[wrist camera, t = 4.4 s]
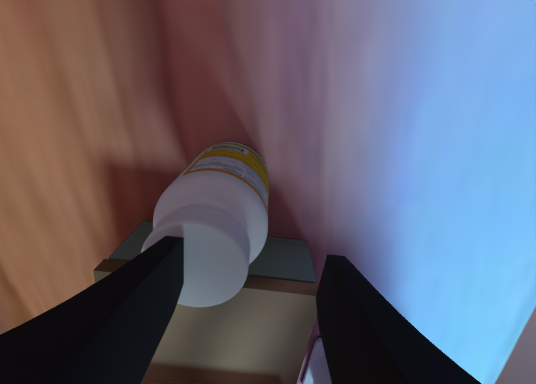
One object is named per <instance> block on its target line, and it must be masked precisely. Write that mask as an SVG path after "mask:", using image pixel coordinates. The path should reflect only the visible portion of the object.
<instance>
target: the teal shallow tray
mask: <svg viewBox="0 0 536 384" xmlns="http://www.w3.org/2000/svg"><path fill="white" fill-rule="evenodd" d="M152 231H153V222H150V221H142V222H141V223H140V224H139V225H138V226H137V227H136V229H135V230H134V231H133V232H132V233H131V234H130V235H129V236H128V237H127V238H126V239H125V240H124V242H123V243H122V244H121V245H120V246H119V247H118V248H117V249H116V250H115V251H114V252H113V254H112V255H111V256H110V257H109V260H116V261H125V262H129V261H130V260H132V259H133V258H135V257H136V256H137V255H139V254H140V253H141V250H142V247H143V244H144V242H145V241H146V239H147V238H148V236H149V235H150V233H151V232H152ZM247 276H252V277H261V278H269V279H278V280H286V281H295V282H303V283H312V284H317V280H316V276H315V271H314V267H313V263H312V258H311V254H310V250H309V245H308V241H302V240H294V239H286V238H278V237H270V236H267V238H266V241H265V244H264V246H263V249H262V250H261V252H260V253H259V255H258V256H257V257H256V258H255V260H254V261H252V262H251V263H250V264H249V268H248V274H247Z"/></svg>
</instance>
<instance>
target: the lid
mask: <svg viewBox="0 0 536 384" xmlns="http://www.w3.org/2000/svg"><path fill="white" fill-rule="evenodd" d="M126 263H127V262H125V261H116V260H108V259H104V260H103V261H102V262H101V263H100V264H99V265H98V266H97V267H96V268H95V269H94V270H93V271H94V277H95V283H96V282H98V281H99V280H101V279H103V278H104V277H106V276H108V275H109V274H111V273H112V272H114V271H115V270H117V269H118V268H120V267H121V266H123V265H124V264H126ZM318 287H319V284H312V283H303V282H295V281H286V280H278V279H269V278H261V277H252V276H247V278H246V281H245V283H244V285H243V287H242V288H241V289H240V291H239V292H238V293H237V294H236V295H235V296H233V297H232V298H231V299H229V300H228V301H225V302H223V303H221V304H218V305H214V306H209V307H190V306H185V305H181V304H178V303H177V305H176V308H175V311H174V313H173V315H172V318H171V320H170V322H169V324H168V326H167V328H166V331H165V333H164V335H163V337H162V339H161V341H160V343H159V345H158V348H157V350H156V352H155V354H154V356H153V358H152V360H151V362H150V365H149V367H148V369H147V371H146V373H145V375H144V377H143V379H142V382H141V384H296V383H297V380H298V377H299V373H300V370H301V367H302V363H303V360H304V357H305V354H306V350H307V347H308V344H309V340H310V337H311V334H312V330H313V327H314V324H315V321H316V317H317V306H316V295H317V291H318Z"/></svg>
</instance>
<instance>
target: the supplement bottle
mask: <svg viewBox="0 0 536 384" xmlns="http://www.w3.org/2000/svg"><path fill="white" fill-rule="evenodd" d="M268 196H269V179H268V172H267V169H266V166H265V164H264V162H263V160H262V159H261V158H260V156H259V155H258V154H257V153H256V152H255V151H254V150H252V149H251V148H249V147H247V146H245V145H243V144H240V143H236V142H221V143H217V144H214V145H212V146H210V147H208V148H206V149H205V150H204V151H203V152H202V153H201V154H199V155H198V157H197V158H196V159H195V160H194V161H193V162H192V163H191V164H190V165H189V166H188V167H187V168H186V169H185V170H184V171H183V172H182V173H181V174H180V175H179V176H178V177H177V178H176V179H175V180H174V181H173V182H172V183H171V184H170V185H169V186H168V188H167V189H166V190H165V191H164V192H163V194H162V195H161V197H160V198H159V200H158V202H157V204H156V207H155V210H154V215H153V231H152V232H151V233H150V235H149V236H148V238H147V239H146V241H145V242H144V244H143V247H142V250H141V253H142V252H143V251H145V250H146V249H147V248H149V247H150V246H152V245H153V244H155V243H156V242H157V241H159V240H160V239H162V238H163V237H165V236H174V237H183V238H184V284H183V287H182V290H181V294H180V297H179V300H178V302H177V303H178V304H181V305H185V306H190V307H209V306H214V305H218V304H221V303H223V302H225V301H228V300H229V299H231V298H232V297H233V296H235V295H236V294H237V293H238V292H239V291H240V289H241V288H242V287H243V285H244V283H245V281H246V278H247V274H248V268H249V264H250V263H251V262H252V261H254V260H255V258H256V257H257V256H258V255H259V253H260V252H261V250H262V249H263V246H264V244H265V241H266V238H267V232H268Z"/></svg>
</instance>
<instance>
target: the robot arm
mask: <svg viewBox="0 0 536 384" xmlns="http://www.w3.org/2000/svg"><path fill="white" fill-rule="evenodd" d="M183 284H184V238H183V237H174V236H165V237H163V238H162V239H160V240H159V241H157V242H156V243H155V244H153V245H152V246H150V247H149V248H147V249H146V250H145V251H143V252H142V253H140V254H139V255H137V256H136V257H135V258H133V259H132V260H130V261H129V262H127V263H126V264H124V265H123V266H121V267H120V268H118V269H117V270H115V271H114V272H112V273H111V274H109V275H108V276H106V277H104V278H103V279H101V280H99V281H98V282H96V283H95V284H93V285H91V286H90V287H88V288H87V289H85V290H83V291H82V292H80V293H79V294H77V295H75V296H73V297H72V298H70V299H68V300H66V301H65V302H63V303H61V304H59V305H57V306H56V307H54V308H52V309H50V310H48V311H46V312H44V313H43V314H41V315H39V316H37V317H35V318H33V319H31V320H29V321H27V322H25V323H23V324H22V325H20V326H18V327H15V328H13V329H11V330H9V331H7V332H5V333H3V334H1V335H0V384H141V382H142V379H143V377H144V375H145V373H146V371H147V369H148V367H149V365H150V362H151V360H152V358H153V356H154V354H155V352H156V350H157V348H158V345H159V343H160V341H161V339H162V337H163V335H164V333H165V331H166V328H167V326H168V324H169V322H170V320H171V318H172V315H173V313H174V311H175V308H176V305H177V302H178V300H179V297H180V294H181V290H182V287H183ZM316 306H317V316H318V324H319V330H320V334H321V338H318V339H316V341H315V344H314V347H313V350H312V353H311V356H310V359H309V363H308V366H307V369H306V372H305V375H304V378H303V381H302V384H481V383H480V382H479V381H477V380H476V379H475V378H474V377H472V376H471V375H470V374H469V373H467V372H466V371H465V370H464V369H462V368H461V367H460V366H459V365H457V364H456V363H455V362H454V361H453V360H451V359H450V358H449V357H448V356H447V355H446V354H444V353H443V352H442V351H441V350H440V349H438V348H437V347H436V346H435V345H434V344H432V343H431V342H430V341H429V340H428V339H427V338H426V337H425V336H423V335H422V334H421V333H420V332H419V331H418V330H417V329H416V328H415V327H414V326H413V325H412V324H411V323H409V322H408V321H407V320H406V319H405V318H404V317H403V316H402V315H401V314H400V313H399V312H398V311H397V310H396V309H395V308H394V307H393V306H392V305H391V304H390V303H389V302H388V301H387V300H386V299H385V298H384V297H383V296H382V295H381V294H380V293H379V292H378V291H377V290H376V289H375V288H374V287H373V286H372V285H371V284H370V282H369V281H368V280H367V279H366V278H365V277H364V276H363V275H362V274H361V273H360V272H359V271H358V270H357V269H356V268H355V266H354V265H353V264H352V263H351V262H350V261H349V260H348V259H347V258H346V257H345V256H338V255H329V254H328V255H327V258H326V262H325V266H324V269H323V273H322V276H321V280H320V284H319V287H318V291H317V295H316Z"/></svg>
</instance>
